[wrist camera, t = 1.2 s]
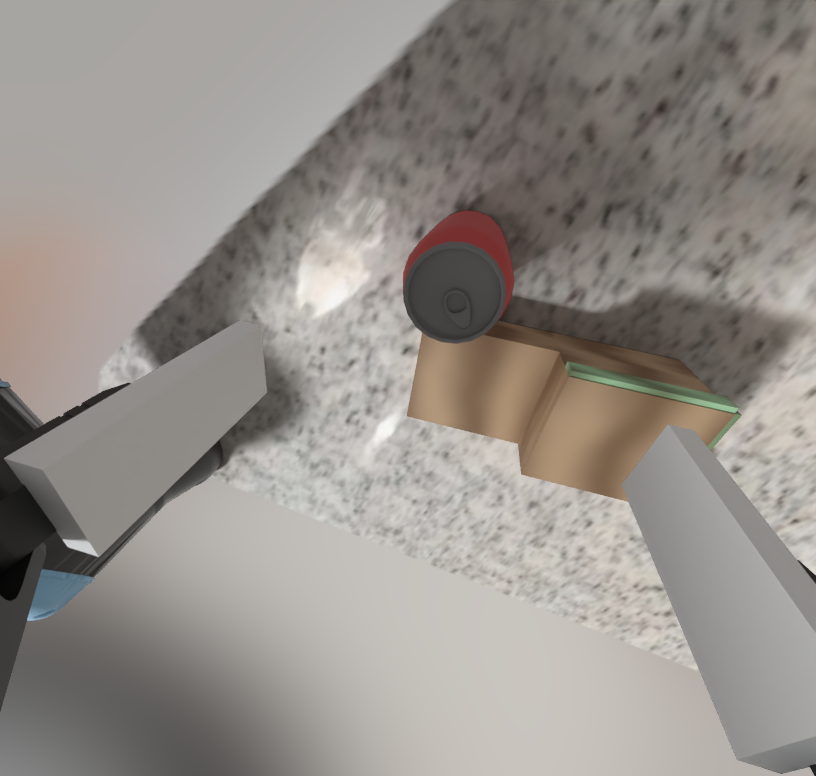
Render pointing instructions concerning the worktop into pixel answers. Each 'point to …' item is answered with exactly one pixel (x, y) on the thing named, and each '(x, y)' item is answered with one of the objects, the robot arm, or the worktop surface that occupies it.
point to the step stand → (564, 401)
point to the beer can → (459, 278)
